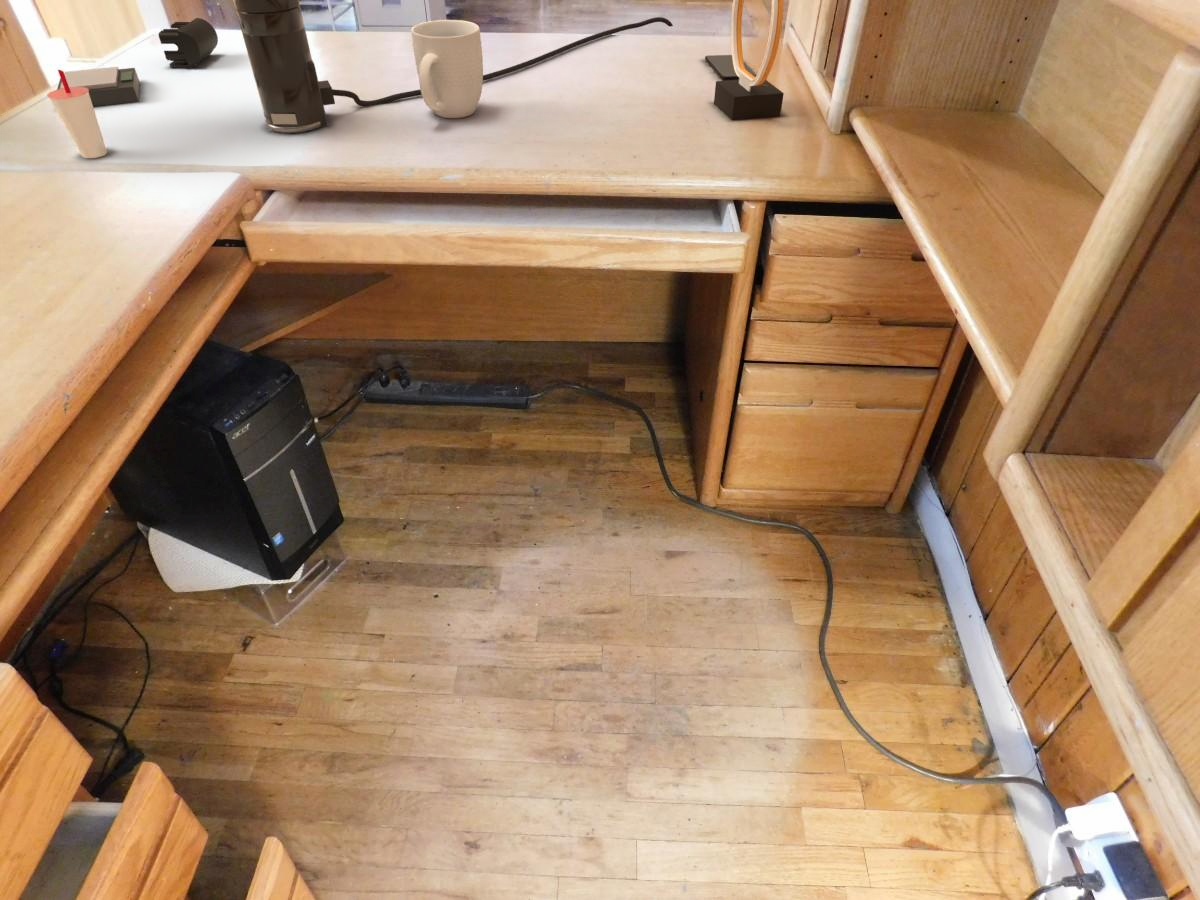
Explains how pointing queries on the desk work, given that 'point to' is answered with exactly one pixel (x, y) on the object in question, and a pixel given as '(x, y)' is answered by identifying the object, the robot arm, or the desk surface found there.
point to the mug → (449, 66)
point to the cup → (79, 118)
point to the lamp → (751, 92)
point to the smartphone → (725, 66)
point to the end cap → (189, 42)
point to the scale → (106, 84)
